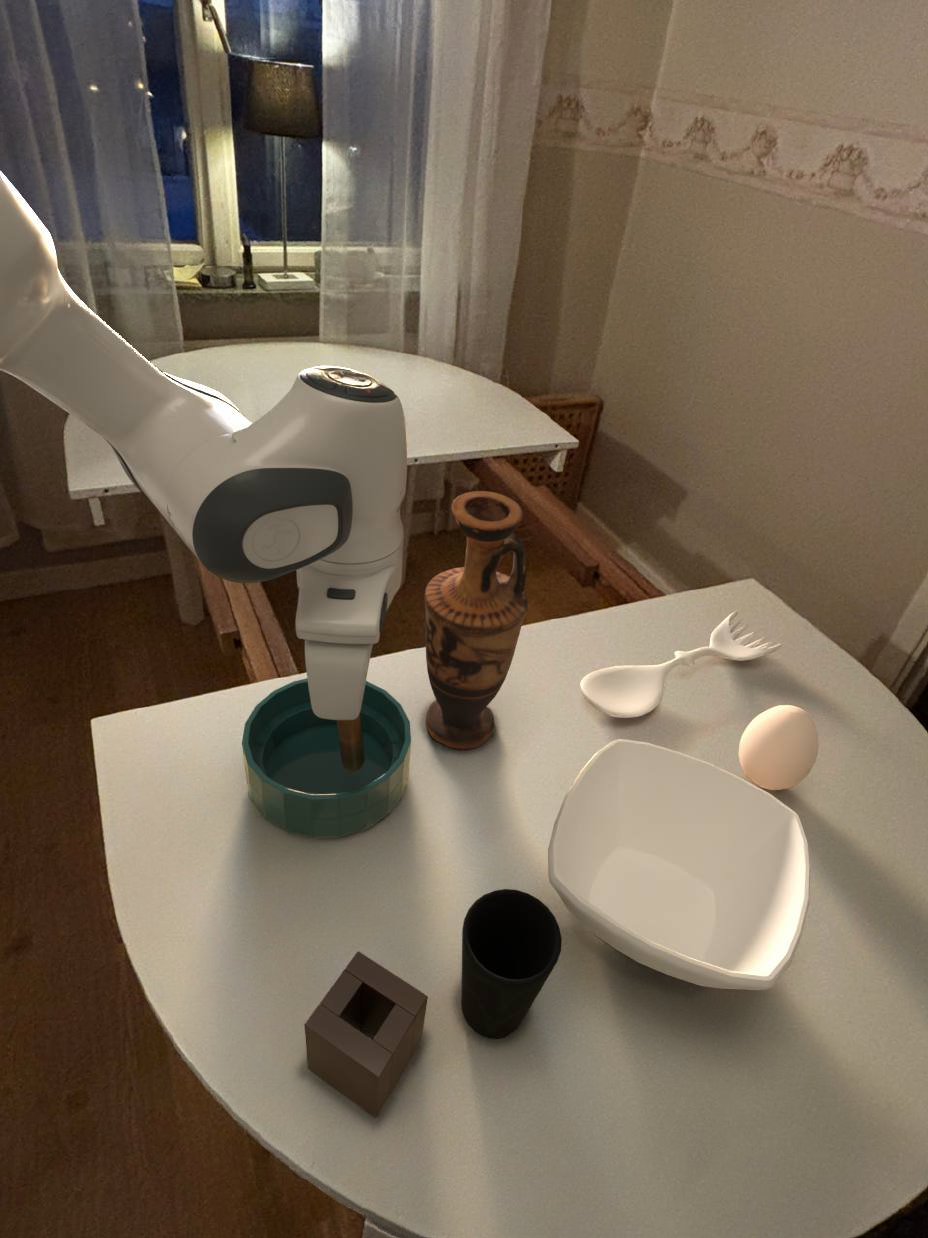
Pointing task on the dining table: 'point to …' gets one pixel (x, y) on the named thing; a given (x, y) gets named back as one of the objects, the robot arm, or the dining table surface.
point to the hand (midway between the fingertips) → (350, 681)
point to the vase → (474, 621)
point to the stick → (351, 743)
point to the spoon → (663, 673)
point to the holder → (349, 1053)
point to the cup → (505, 959)
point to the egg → (779, 747)
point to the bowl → (682, 866)
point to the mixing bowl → (324, 763)
